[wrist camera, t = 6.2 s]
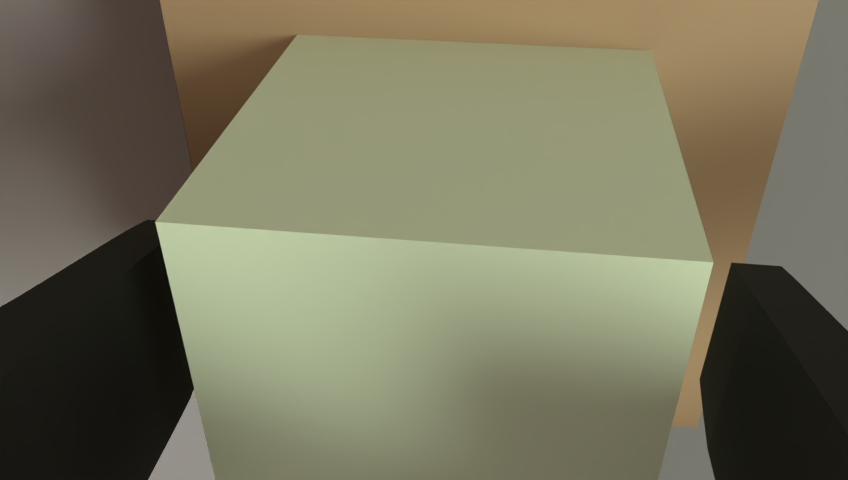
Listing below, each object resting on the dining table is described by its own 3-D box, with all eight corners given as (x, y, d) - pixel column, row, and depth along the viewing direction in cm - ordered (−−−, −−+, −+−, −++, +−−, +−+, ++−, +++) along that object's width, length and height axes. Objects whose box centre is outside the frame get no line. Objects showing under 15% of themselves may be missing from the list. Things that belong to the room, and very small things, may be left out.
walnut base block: (669, 296, 18) (697, 428, 15) (287, 266, 19) (233, 384, 16) (766, -134, 13) (841, -79, 10) (237, -145, 14) (140, -97, 11)
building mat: (998, 554, 22) (1005, 567, 22) (303, 479, 24) (299, 490, 24) (1493, -160, 12) (1520, -156, 11) (213, -180, 14) (205, -177, 14)
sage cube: (650, 50, 11) (712, 262, 7) (604, 326, 14) (627, 595, 10) (296, 34, 11) (154, 222, 7) (322, 303, 14) (231, 547, 10)
